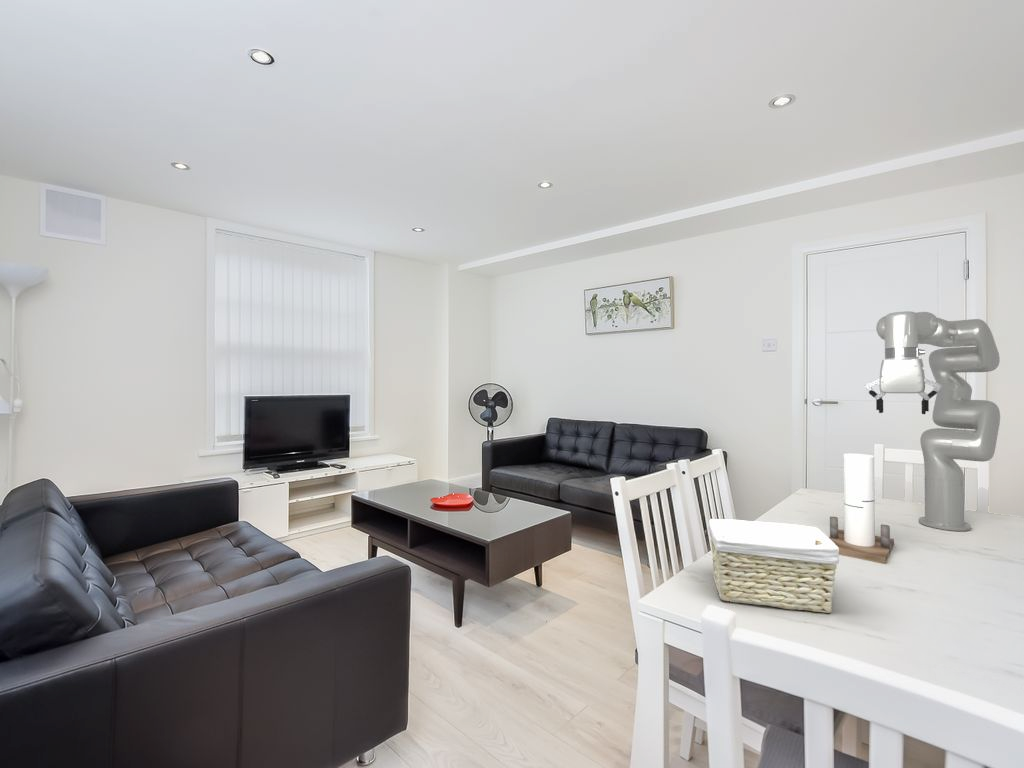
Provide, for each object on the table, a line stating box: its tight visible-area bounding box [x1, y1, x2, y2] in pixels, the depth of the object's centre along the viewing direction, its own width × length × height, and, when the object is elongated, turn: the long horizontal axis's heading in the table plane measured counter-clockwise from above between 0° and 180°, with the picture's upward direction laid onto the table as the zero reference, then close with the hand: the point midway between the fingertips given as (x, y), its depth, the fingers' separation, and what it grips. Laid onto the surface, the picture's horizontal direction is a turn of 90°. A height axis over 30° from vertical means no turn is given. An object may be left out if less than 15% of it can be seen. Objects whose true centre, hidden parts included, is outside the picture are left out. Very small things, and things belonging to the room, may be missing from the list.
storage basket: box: [708, 518, 840, 614], centre depth 107 cm, size 24×16×15 cm
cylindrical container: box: [842, 452, 876, 547], centre depth 136 cm, size 7×7×25 cm
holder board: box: [828, 516, 895, 564], centre depth 136 cm, size 20×14×8 cm
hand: (901, 413), depth 138 cm, fingers open, 9 cm apart
